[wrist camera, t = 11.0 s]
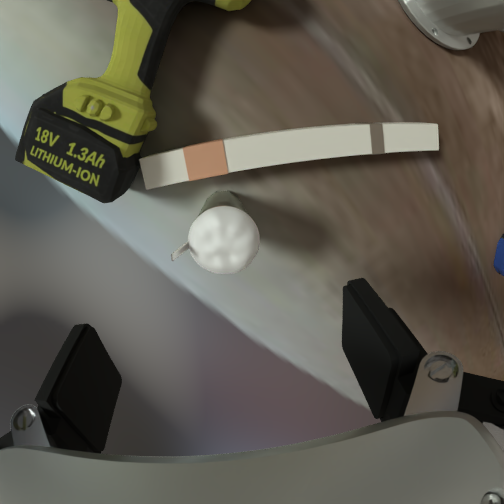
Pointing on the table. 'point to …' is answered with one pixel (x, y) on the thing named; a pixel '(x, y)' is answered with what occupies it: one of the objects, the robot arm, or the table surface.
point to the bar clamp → (500, 257)
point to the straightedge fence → (285, 149)
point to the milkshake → (222, 235)
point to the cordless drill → (105, 107)
